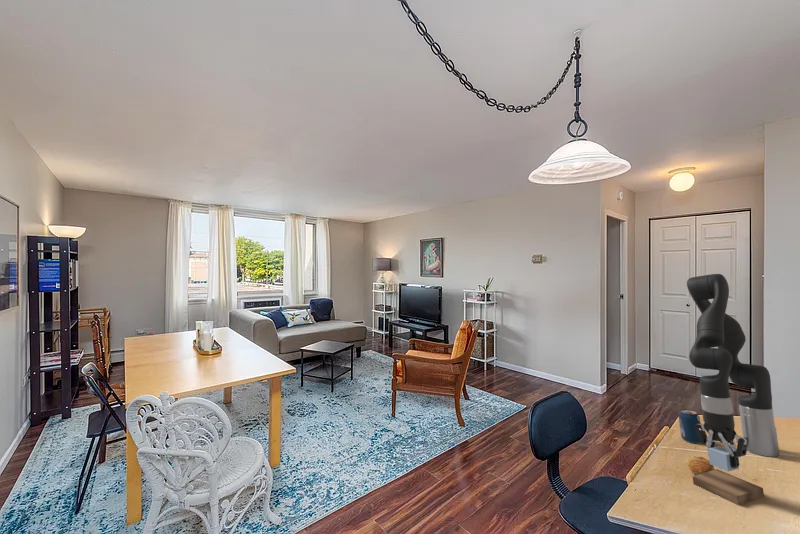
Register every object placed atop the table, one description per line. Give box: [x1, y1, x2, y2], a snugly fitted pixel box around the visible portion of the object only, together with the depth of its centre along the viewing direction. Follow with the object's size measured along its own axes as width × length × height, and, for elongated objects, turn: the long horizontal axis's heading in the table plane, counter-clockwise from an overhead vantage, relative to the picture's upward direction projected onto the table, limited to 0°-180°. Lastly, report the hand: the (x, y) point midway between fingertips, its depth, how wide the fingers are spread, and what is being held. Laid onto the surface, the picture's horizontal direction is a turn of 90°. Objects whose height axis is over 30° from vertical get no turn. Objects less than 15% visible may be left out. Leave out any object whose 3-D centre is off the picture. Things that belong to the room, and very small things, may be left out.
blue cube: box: [707, 445, 740, 472], centre depth 109 cm, size 5×5×5 cm
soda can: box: [678, 408, 701, 444], centre depth 143 cm, size 7×7×12 cm
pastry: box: [688, 455, 715, 475], centre depth 120 cm, size 9×7×4 cm
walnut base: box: [692, 468, 765, 506], centre depth 108 cm, size 12×12×3 cm
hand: (723, 463), depth 109 cm, fingers closed on blue cube, 5 cm apart
